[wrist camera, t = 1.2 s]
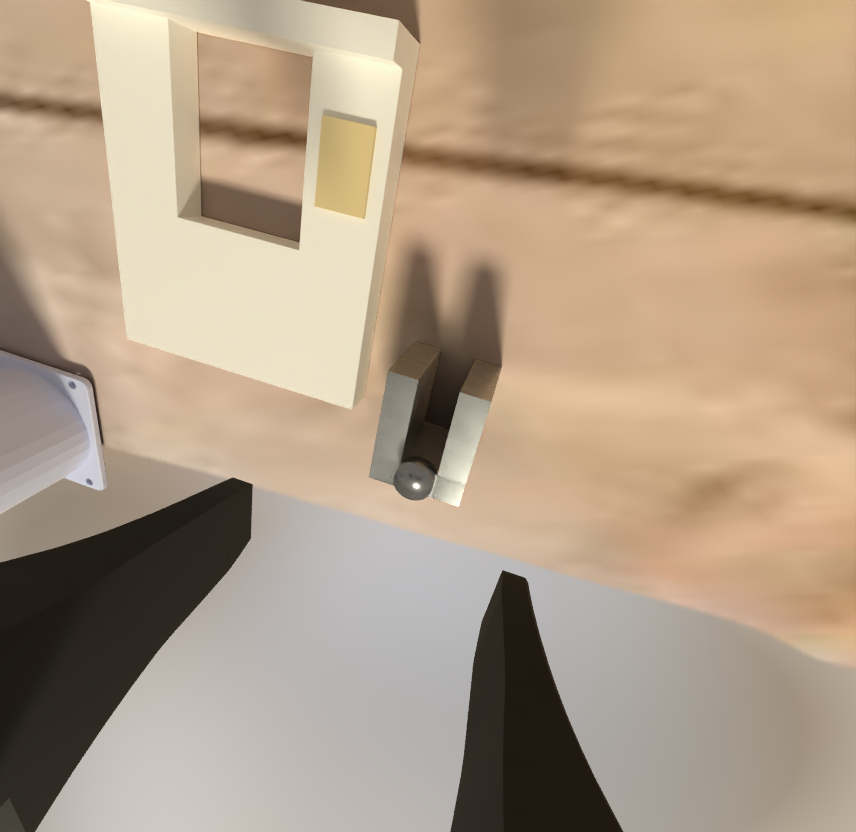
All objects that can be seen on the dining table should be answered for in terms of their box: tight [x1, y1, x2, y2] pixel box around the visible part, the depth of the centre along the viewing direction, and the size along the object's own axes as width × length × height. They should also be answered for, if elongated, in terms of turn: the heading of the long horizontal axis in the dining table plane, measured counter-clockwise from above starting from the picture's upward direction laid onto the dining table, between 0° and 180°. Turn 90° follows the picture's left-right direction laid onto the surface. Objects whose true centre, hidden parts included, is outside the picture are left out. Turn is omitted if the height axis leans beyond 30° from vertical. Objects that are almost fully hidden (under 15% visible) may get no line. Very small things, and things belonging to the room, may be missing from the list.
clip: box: [369, 342, 502, 507], centre depth 19 cm, size 4×5×5 cm
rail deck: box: [87, 0, 420, 409], centre depth 19 cm, size 12×14×2 cm
